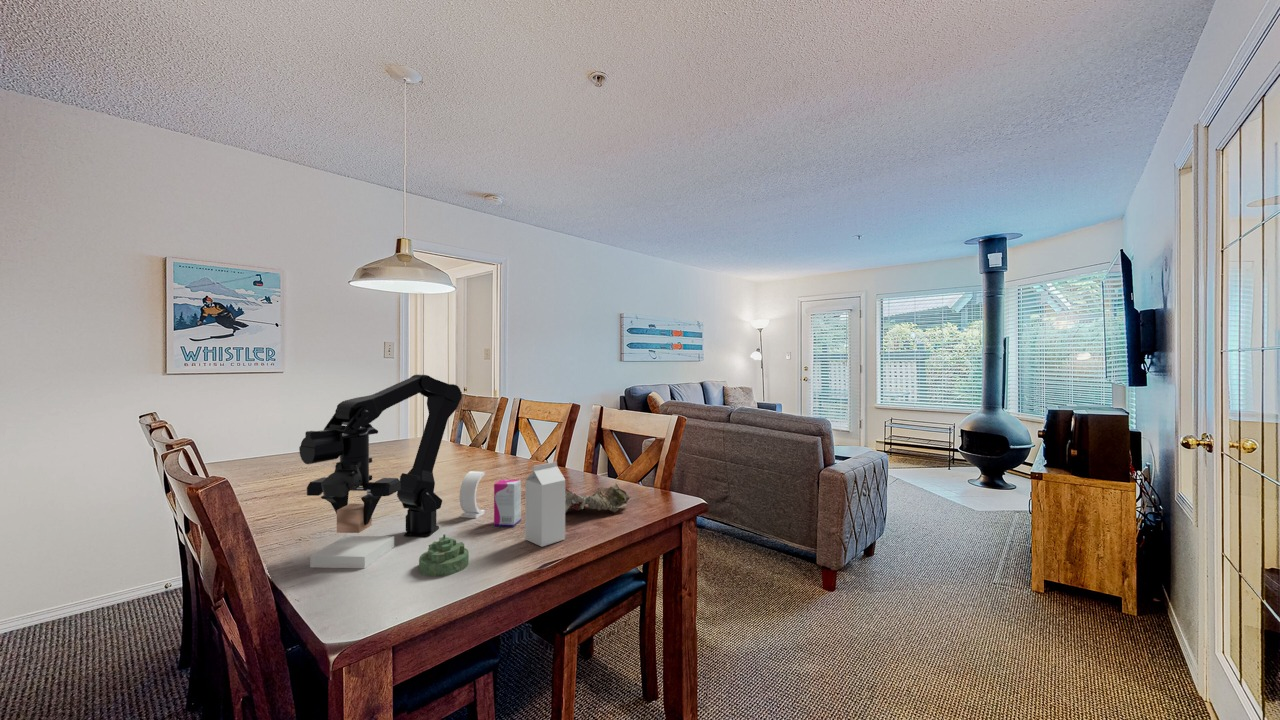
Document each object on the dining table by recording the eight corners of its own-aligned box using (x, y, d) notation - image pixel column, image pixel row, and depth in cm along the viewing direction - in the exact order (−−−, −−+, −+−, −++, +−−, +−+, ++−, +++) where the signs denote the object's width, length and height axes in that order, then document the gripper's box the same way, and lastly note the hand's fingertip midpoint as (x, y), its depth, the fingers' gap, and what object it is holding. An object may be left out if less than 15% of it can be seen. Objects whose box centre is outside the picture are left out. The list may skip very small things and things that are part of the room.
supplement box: (521, 520, 138) (521, 479, 138) (514, 527, 132) (514, 484, 132) (501, 519, 139) (501, 478, 139) (493, 526, 133) (493, 483, 133)
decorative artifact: (453, 553, 115) (410, 568, 107) (453, 523, 115) (410, 535, 107) (477, 565, 108) (433, 581, 101) (477, 533, 108) (433, 547, 101)
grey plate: (394, 546, 118) (394, 536, 118) (364, 568, 106) (364, 556, 106) (344, 546, 119) (344, 535, 119) (310, 567, 107) (310, 555, 107)
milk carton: (565, 539, 123) (565, 463, 123) (541, 547, 118) (542, 468, 118) (548, 532, 128) (548, 459, 128) (524, 540, 123) (525, 463, 123)
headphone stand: (485, 512, 144) (485, 471, 144) (474, 519, 139) (474, 476, 138) (470, 511, 145) (470, 471, 145) (459, 518, 139) (459, 475, 139)
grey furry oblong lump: (608, 496, 161) (608, 473, 161) (637, 508, 148) (637, 483, 148) (539, 512, 146) (539, 486, 145) (565, 527, 133) (565, 498, 133)
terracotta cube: (371, 525, 115) (371, 503, 115) (358, 533, 110) (358, 510, 110) (350, 525, 115) (350, 503, 115) (336, 532, 110) (336, 510, 110)
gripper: (288, 463, 105) (288, 536, 105) (375, 463, 104) (375, 537, 104) (323, 452, 116) (323, 519, 116) (402, 453, 115) (402, 520, 115)
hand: (354, 524), depth 112 cm, fingers closed on terracotta cube, 5 cm apart
